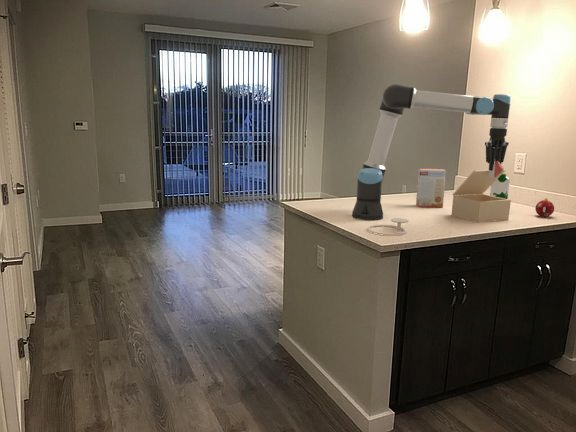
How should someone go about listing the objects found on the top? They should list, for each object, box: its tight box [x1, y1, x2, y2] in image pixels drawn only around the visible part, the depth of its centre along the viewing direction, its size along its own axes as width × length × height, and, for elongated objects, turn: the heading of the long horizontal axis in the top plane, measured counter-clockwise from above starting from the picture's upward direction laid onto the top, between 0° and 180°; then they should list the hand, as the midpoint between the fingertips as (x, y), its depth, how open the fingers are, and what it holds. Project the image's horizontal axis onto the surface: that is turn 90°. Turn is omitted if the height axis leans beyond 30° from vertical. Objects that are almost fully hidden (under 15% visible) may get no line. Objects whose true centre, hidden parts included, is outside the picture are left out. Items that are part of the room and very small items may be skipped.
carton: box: [451, 193, 512, 224], centre depth 239 cm, size 20×18×10 cm
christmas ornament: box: [535, 197, 555, 218], centre depth 245 cm, size 9×9×10 cm
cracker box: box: [415, 168, 447, 209], centre depth 263 cm, size 14×6×21 cm, turn 84°
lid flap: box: [452, 161, 506, 196], centre depth 235 cm, size 20×25×5 cm
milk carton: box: [489, 173, 510, 199], centre depth 258 cm, size 9×9×20 cm
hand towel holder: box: [366, 217, 410, 236], centre depth 208 cm, size 17×4×20 cm
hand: (492, 177), depth 230 cm, fingers closed on lid flap, 1 cm apart
